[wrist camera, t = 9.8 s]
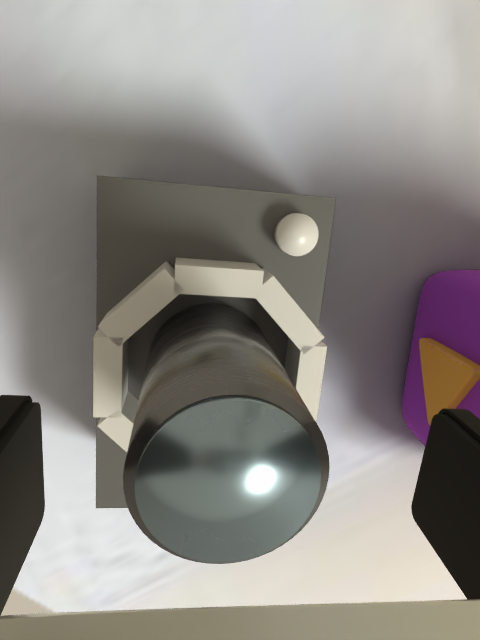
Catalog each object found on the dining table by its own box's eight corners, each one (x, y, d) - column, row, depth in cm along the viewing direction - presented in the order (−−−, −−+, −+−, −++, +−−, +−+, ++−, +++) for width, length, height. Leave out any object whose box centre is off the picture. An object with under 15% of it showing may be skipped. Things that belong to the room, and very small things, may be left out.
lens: (150, 299, 17) (123, 384, 9) (274, 307, 18) (347, 390, 10) (146, 415, 19) (119, 576, 11) (263, 417, 19) (318, 570, 11)
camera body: (116, 181, 21) (85, 172, 14) (302, 198, 22) (355, 197, 15) (113, 447, 24) (86, 541, 18) (273, 448, 26) (305, 537, 19)
